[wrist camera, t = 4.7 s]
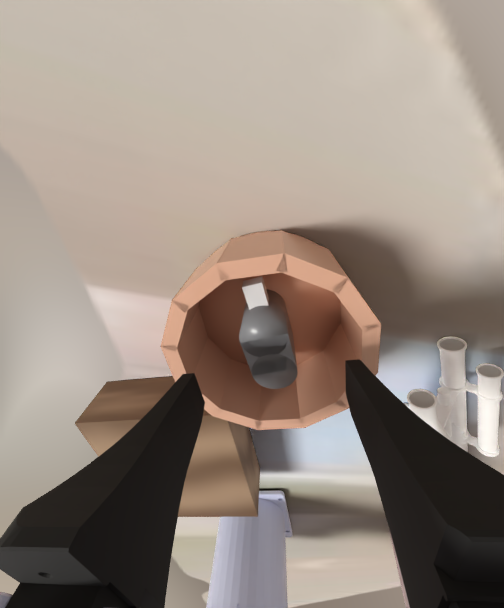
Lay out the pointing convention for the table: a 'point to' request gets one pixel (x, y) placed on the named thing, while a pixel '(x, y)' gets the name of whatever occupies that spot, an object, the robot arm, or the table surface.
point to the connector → (267, 336)
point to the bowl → (303, 319)
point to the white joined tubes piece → (461, 400)
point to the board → (206, 455)
